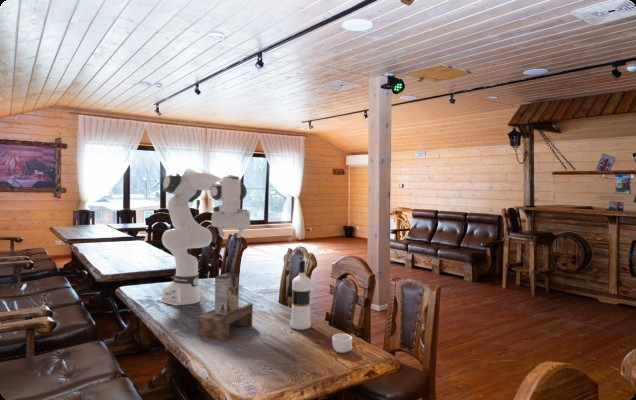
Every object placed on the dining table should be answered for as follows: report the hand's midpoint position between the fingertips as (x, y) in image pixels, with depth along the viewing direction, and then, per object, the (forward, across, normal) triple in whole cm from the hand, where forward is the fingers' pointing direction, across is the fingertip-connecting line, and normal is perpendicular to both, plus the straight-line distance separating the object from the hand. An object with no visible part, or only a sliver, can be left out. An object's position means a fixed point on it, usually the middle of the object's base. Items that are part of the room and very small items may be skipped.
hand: (230, 236), depth 205 cm
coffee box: (+29, -13, +22) cm, 39 cm away
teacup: (+37, -66, +22) cm, 79 cm away
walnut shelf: (+37, -13, +22) cm, 45 cm away
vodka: (+37, -40, +4) cm, 55 cm away
